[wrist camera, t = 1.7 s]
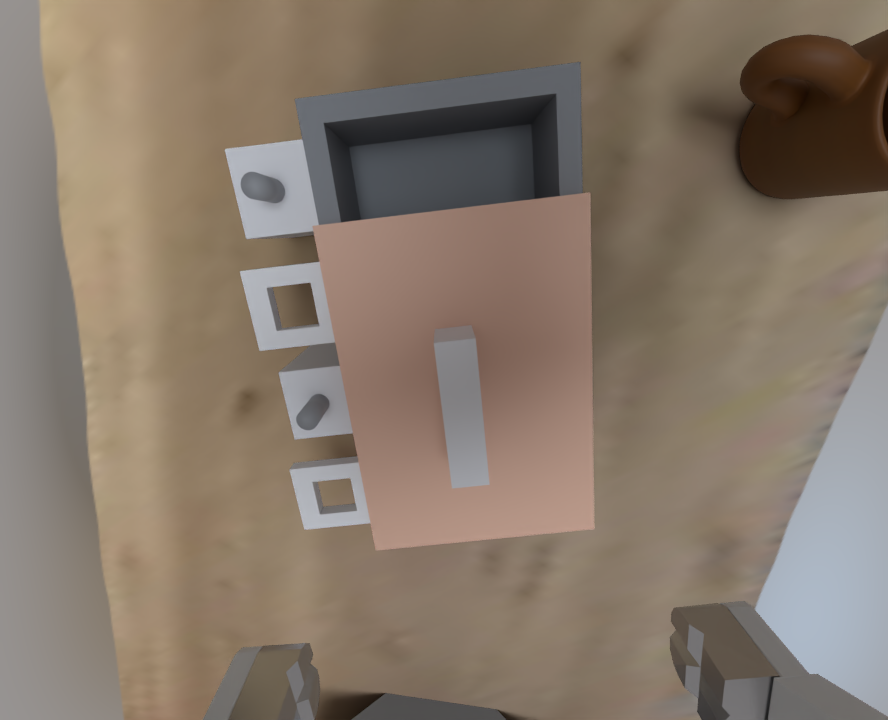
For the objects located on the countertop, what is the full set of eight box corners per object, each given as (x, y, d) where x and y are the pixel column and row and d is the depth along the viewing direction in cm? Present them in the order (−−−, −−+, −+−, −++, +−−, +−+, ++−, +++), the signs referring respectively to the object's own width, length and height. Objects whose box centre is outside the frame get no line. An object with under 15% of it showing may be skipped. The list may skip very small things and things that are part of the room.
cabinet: (270, 139, 27) (186, 93, 18) (545, 104, 27) (598, 39, 18) (329, 418, 33) (287, 487, 24) (556, 393, 33) (600, 454, 24)
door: (237, 236, 22) (193, 236, 18) (582, 194, 22) (614, 185, 18) (313, 543, 28) (292, 595, 24) (588, 516, 28) (612, 565, 24)
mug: (653, 164, 28) (754, 131, 19) (703, 34, 26) (842, -73, 17) (813, 214, 29) (982, 205, 20) (874, 93, 27) (1093, 22, 18)
